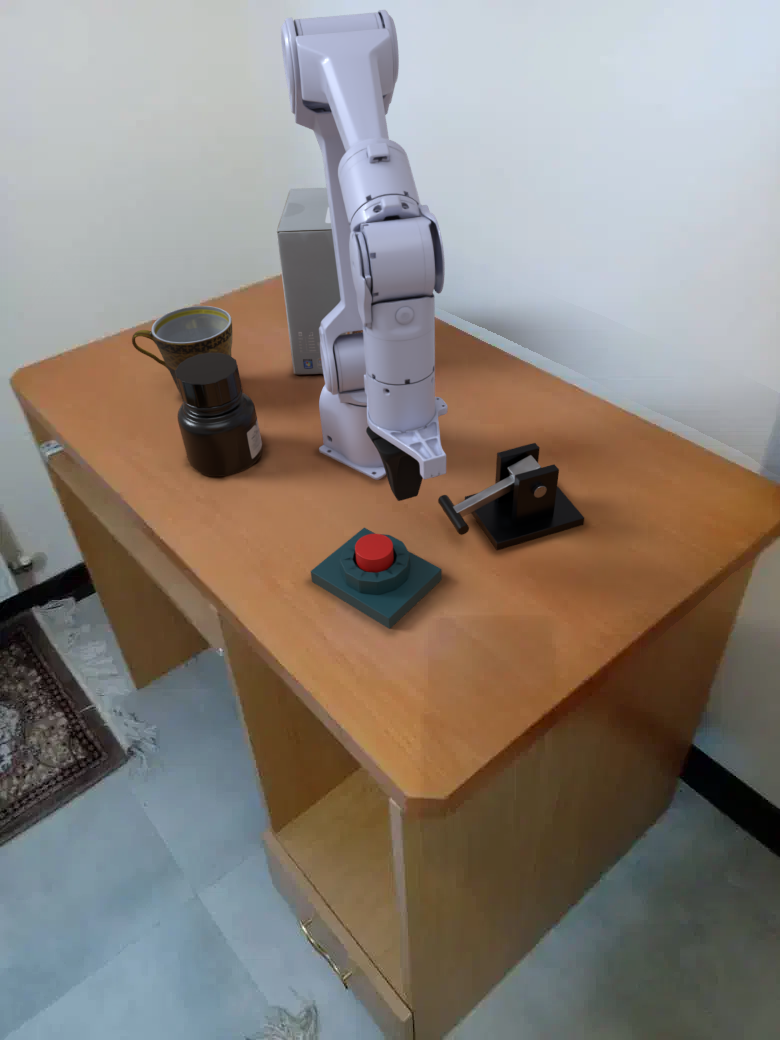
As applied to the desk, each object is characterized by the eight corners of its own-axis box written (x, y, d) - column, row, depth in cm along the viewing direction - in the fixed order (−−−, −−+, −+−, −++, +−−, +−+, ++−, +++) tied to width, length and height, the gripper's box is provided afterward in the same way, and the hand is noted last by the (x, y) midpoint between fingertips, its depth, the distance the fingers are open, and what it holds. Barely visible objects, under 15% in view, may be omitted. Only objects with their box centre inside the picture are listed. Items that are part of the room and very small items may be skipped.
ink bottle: (277, 462, 93) (262, 373, 85) (208, 490, 90) (185, 400, 82) (242, 424, 99) (225, 338, 91) (176, 449, 96) (152, 362, 88)
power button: (348, 562, 76) (347, 548, 74) (373, 541, 78) (371, 528, 76) (377, 578, 74) (376, 565, 73) (401, 557, 76) (400, 543, 75)
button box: (312, 583, 78) (308, 557, 76) (365, 539, 83) (363, 513, 80) (389, 630, 73) (388, 605, 71) (441, 581, 78) (441, 555, 75)
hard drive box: (349, 375, 107) (336, 229, 94) (293, 377, 107) (273, 232, 94) (354, 321, 119) (344, 184, 106) (304, 322, 119) (287, 186, 106)
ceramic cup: (248, 370, 109) (235, 303, 103) (240, 410, 102) (226, 341, 95) (154, 375, 109) (136, 308, 103) (139, 416, 102) (118, 346, 95)
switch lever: (461, 540, 79) (455, 525, 78) (441, 509, 83) (434, 494, 81) (553, 491, 80) (548, 475, 78) (528, 462, 83) (524, 446, 82)
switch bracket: (496, 552, 80) (500, 496, 75) (464, 505, 86) (465, 451, 81) (583, 526, 83) (592, 471, 78) (546, 482, 88) (552, 428, 83)
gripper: (482, 399, 61) (477, 530, 70) (412, 319, 71) (415, 442, 80) (397, 421, 59) (403, 552, 68) (338, 336, 70) (349, 459, 79)
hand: (405, 494), depth 74 cm, fingers closed
